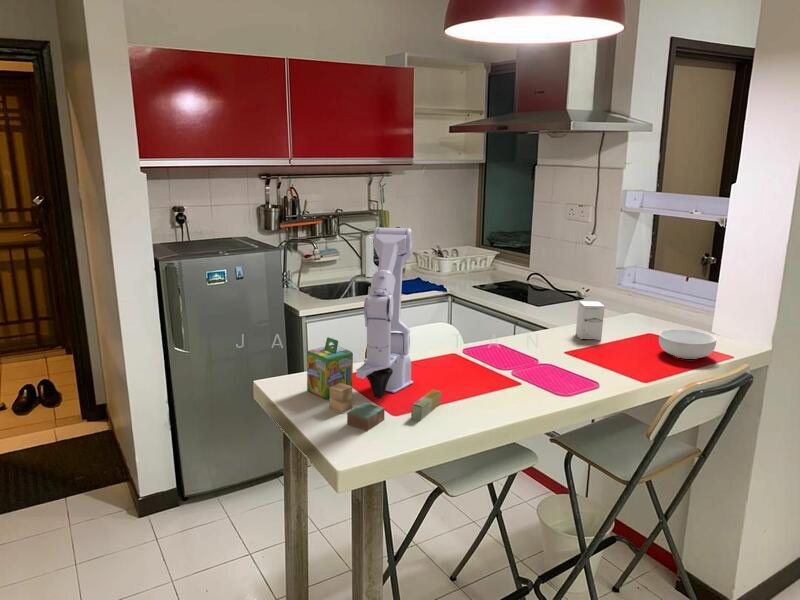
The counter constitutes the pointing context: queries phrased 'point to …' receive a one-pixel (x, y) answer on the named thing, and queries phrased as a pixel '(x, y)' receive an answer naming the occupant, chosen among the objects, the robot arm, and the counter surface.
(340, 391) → the oak block
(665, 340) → the cereal bowl
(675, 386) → the counter surface
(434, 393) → the medication box
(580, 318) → the supplement box
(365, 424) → the walnut block
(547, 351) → the counter surface
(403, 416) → the counter surface
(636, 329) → the counter surface
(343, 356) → the chalk box
